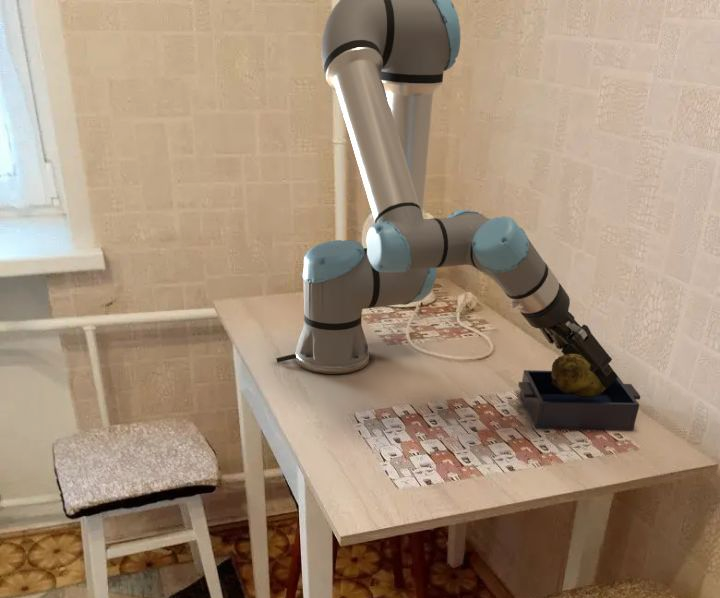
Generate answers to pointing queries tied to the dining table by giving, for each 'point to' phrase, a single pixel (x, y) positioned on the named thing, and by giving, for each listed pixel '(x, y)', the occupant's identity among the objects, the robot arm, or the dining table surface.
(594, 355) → the robot arm
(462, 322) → the dining table surface
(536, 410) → the roasting pan
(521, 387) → the pan handles
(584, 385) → the potato
